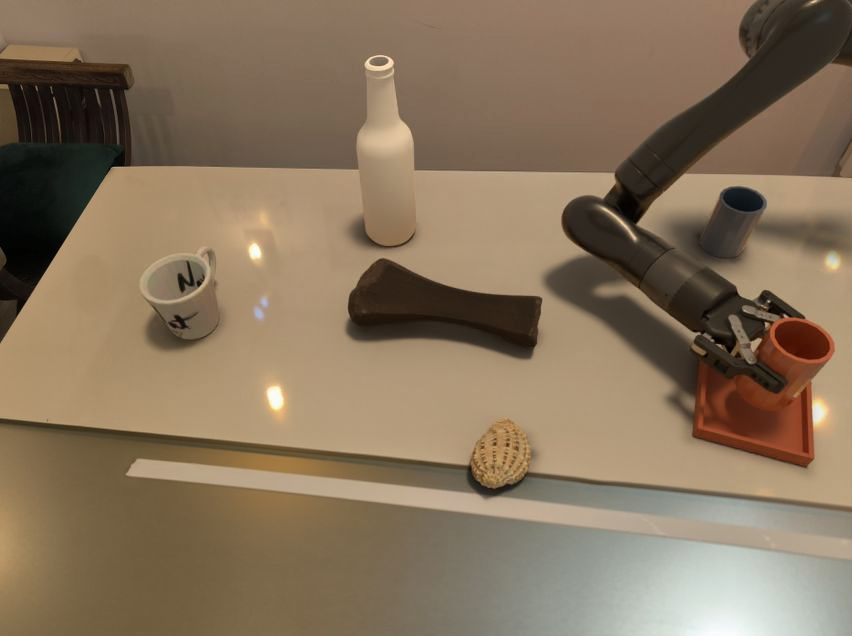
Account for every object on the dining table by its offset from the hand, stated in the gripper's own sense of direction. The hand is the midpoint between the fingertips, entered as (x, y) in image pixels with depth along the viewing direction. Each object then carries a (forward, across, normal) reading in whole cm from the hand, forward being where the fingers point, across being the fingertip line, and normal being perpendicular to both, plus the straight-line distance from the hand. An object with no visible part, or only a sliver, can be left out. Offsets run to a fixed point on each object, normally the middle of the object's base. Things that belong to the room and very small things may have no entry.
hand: (802, 373), depth 71 cm
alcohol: (-60, -18, +11) cm, 64 cm away
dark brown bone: (-38, -23, +11) cm, 46 cm away
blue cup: (-25, +23, +11) cm, 36 cm away
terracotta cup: (-2, 0, +6) cm, 6 cm away
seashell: (-15, -31, +11) cm, 37 cm away
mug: (-63, -52, +11) cm, 83 cm away
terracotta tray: (-2, 0, +11) cm, 11 cm away
